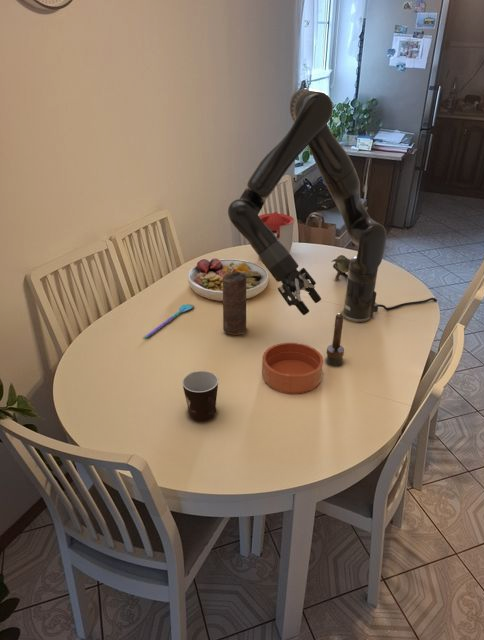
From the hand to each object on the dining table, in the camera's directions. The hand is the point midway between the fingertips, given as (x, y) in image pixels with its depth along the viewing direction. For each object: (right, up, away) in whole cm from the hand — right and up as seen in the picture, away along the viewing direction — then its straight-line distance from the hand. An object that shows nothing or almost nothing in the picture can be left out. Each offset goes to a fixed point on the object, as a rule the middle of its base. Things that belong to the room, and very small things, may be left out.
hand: (312, 307), depth 138 cm
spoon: (-45, -3, +23) cm, 51 cm away
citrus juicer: (-10, +27, +71) cm, 76 cm away
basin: (-6, -19, -1) cm, 20 cm away
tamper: (+7, -16, +5) cm, 18 cm away
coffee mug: (-29, -29, -16) cm, 44 cm away
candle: (-23, -7, +19) cm, 30 cm away
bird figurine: (+17, +16, +55) cm, 60 cm away
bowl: (-27, +12, +47) cm, 55 cm away
